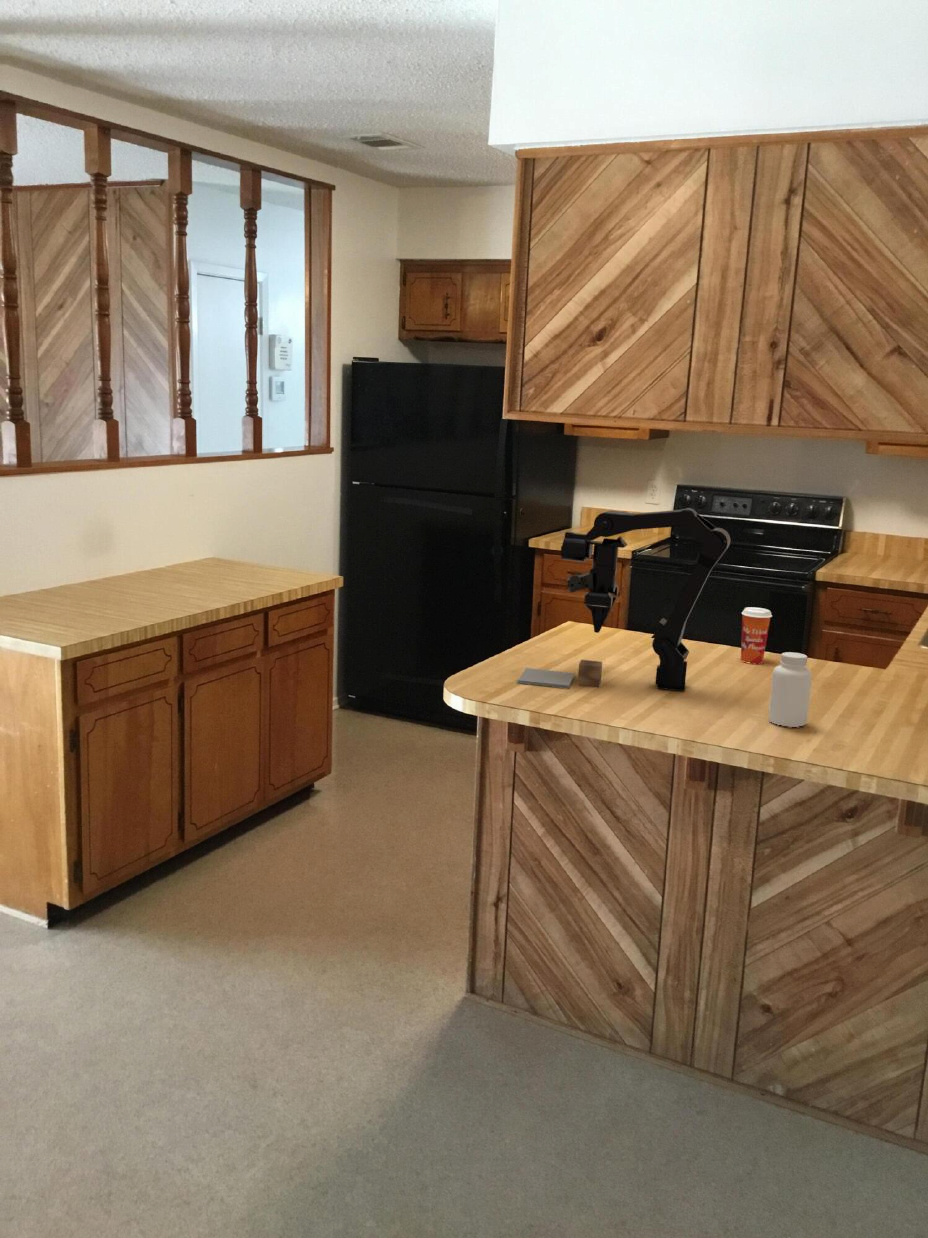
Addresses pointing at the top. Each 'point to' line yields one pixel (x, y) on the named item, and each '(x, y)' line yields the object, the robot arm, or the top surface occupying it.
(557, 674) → the plate
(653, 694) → the top surface
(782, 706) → the pill bottle
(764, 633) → the paper cup
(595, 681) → the walnut block
